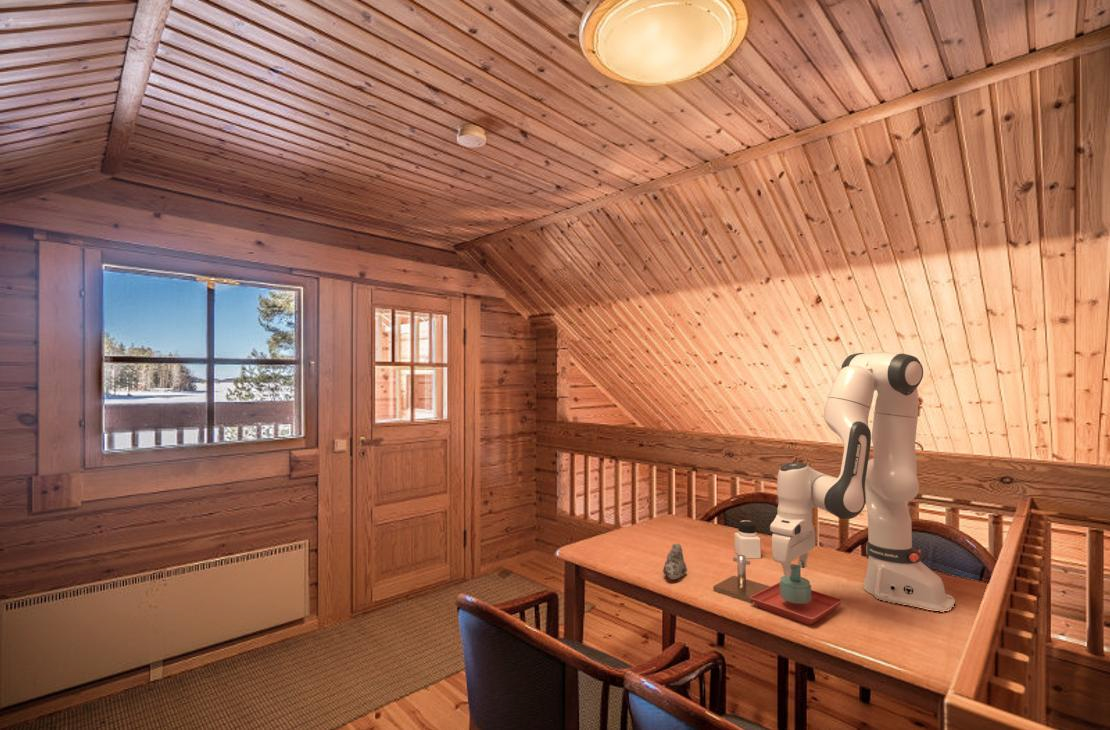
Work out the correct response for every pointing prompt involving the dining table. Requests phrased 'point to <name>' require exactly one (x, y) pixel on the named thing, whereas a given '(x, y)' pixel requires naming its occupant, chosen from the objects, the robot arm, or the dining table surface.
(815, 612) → the plant saucer
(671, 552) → the mineral rock
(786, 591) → the cap
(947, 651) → the dining table surface
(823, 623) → the dining table surface
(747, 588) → the post
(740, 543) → the medicine bottle
